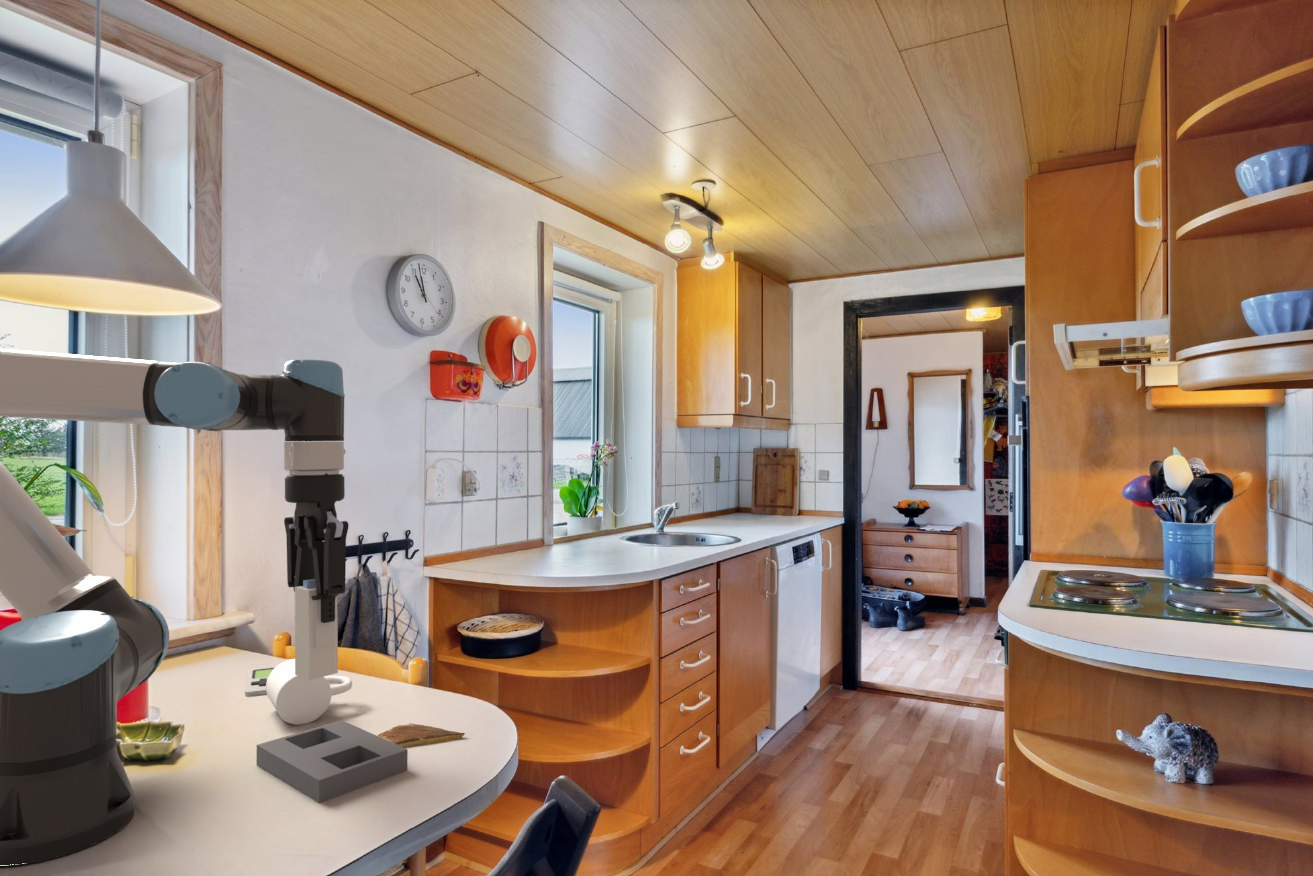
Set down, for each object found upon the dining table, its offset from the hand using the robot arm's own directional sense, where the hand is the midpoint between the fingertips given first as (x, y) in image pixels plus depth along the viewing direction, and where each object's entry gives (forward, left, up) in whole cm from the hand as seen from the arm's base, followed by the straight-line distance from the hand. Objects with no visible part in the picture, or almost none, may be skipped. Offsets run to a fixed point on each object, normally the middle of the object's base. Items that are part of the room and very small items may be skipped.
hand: (316, 642), depth 105 cm
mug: (+9, +19, -16) cm, 26 cm away
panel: (0, -5, -16) cm, 17 cm away
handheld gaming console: (+13, +40, -17) cm, 45 cm away
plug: (0, 0, -4) cm, 4 cm away
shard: (+14, -4, -17) cm, 22 cm away
